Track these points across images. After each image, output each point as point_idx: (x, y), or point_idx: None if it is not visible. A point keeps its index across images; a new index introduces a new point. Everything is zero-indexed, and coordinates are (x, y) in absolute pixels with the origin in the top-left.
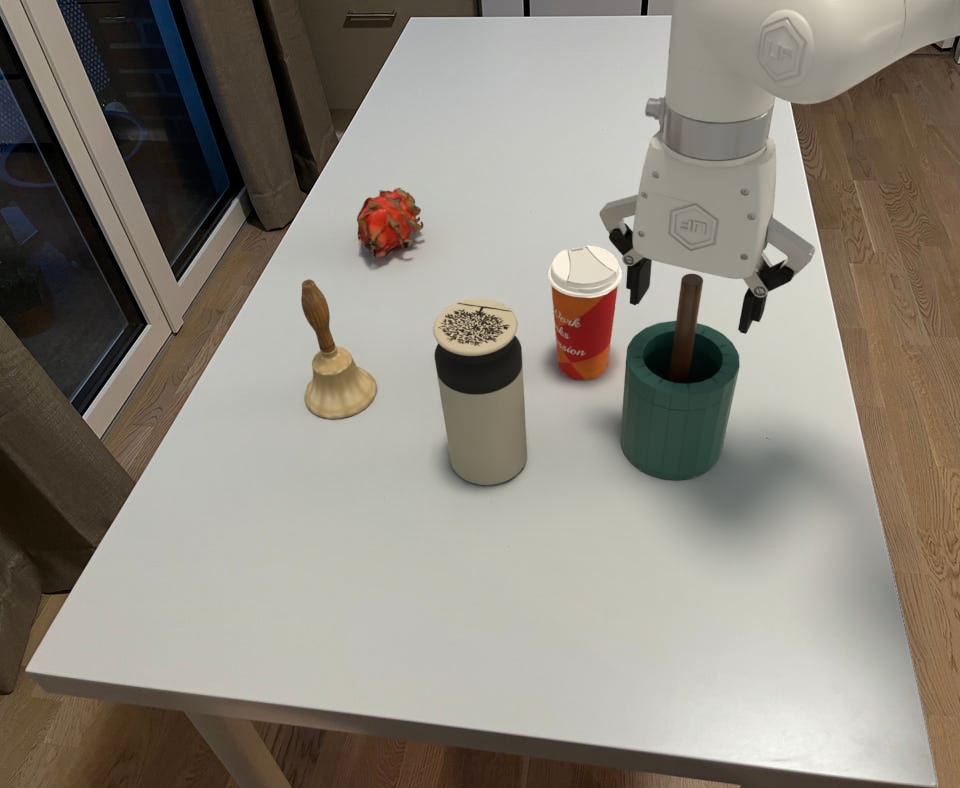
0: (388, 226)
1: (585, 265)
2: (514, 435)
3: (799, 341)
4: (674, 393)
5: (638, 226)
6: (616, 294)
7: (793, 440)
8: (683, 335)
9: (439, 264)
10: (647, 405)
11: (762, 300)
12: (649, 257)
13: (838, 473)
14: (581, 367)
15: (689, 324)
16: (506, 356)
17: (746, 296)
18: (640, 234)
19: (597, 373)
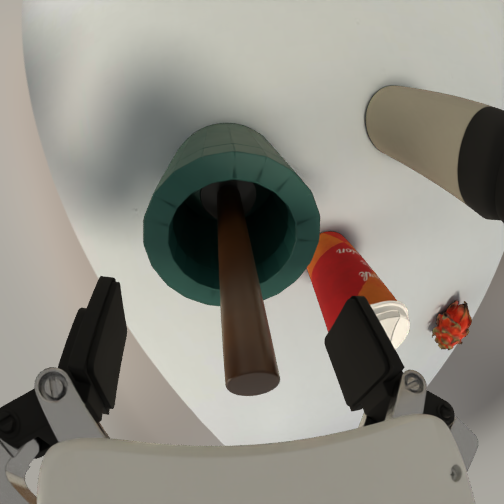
0: (457, 322)
1: None
2: (405, 107)
3: (146, 318)
4: (230, 153)
5: (466, 485)
6: (327, 321)
7: (114, 214)
8: (239, 263)
9: (422, 310)
10: (267, 150)
11: (62, 358)
12: (415, 424)
13: (73, 190)
14: (332, 240)
15: (232, 284)
16: (500, 148)
17: (83, 369)
18: (453, 469)
19: None
